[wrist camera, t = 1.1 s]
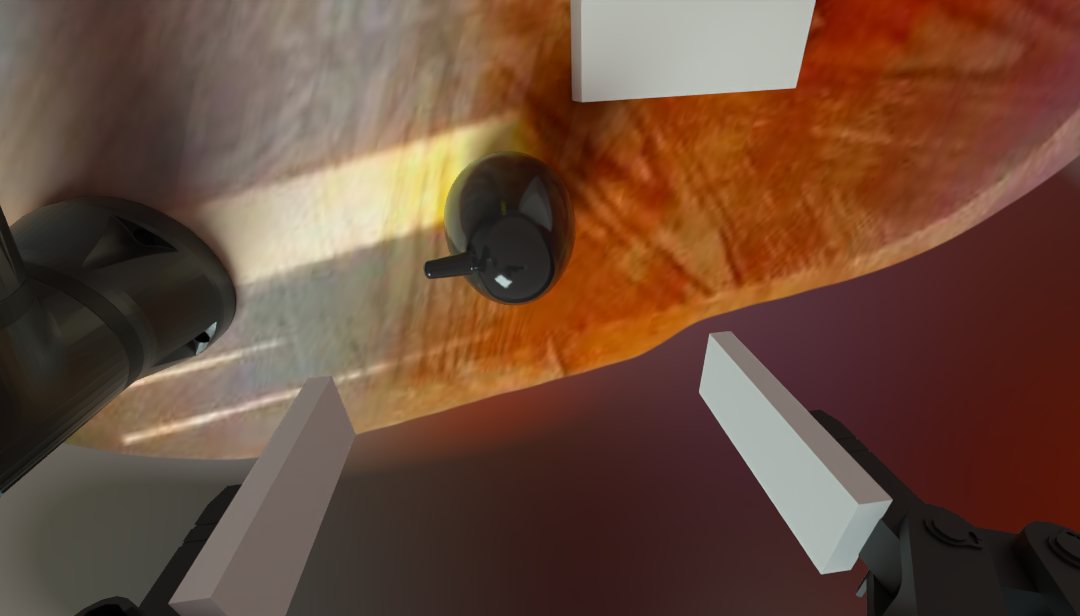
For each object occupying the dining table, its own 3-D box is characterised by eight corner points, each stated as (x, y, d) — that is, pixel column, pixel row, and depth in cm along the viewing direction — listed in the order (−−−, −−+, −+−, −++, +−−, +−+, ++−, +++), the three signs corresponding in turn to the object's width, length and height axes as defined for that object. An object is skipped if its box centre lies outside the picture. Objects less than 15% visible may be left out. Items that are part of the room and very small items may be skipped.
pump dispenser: (442, 143, 32) (407, 183, 19) (568, 146, 33) (617, 186, 20) (451, 259, 37) (428, 355, 24) (560, 259, 38) (596, 350, 25)
